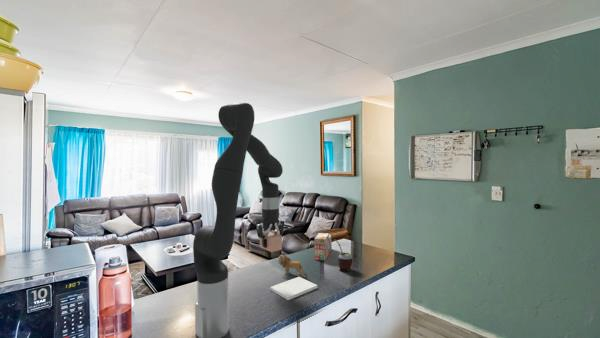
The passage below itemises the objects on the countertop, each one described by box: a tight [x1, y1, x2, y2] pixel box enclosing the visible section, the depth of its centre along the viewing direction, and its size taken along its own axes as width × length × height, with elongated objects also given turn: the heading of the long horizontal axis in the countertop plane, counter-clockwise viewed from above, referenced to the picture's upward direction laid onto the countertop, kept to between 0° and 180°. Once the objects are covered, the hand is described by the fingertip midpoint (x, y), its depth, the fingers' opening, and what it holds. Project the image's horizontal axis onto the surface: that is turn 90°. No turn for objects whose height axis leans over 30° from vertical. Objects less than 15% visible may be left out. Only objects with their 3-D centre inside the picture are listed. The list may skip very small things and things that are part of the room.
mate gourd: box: [334, 238, 353, 274], centre depth 134 cm, size 8×8×15 cm
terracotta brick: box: [259, 231, 283, 253], centre depth 117 cm, size 6×9×6 cm, turn 41°
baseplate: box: [269, 276, 318, 301], centre depth 114 cm, size 16×12×1 cm
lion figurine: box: [277, 254, 308, 278], centre depth 129 cm, size 15×5×9 cm, turn 72°
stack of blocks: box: [313, 232, 333, 261], centre depth 159 cm, size 21×6×12 cm, turn 164°
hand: (270, 245), depth 117 cm, fingers closed on terracotta brick, 5 cm apart
